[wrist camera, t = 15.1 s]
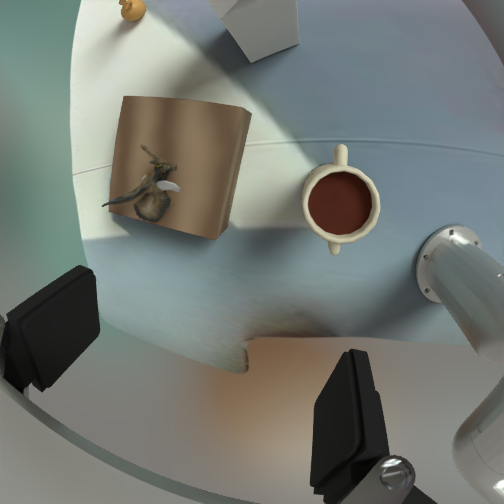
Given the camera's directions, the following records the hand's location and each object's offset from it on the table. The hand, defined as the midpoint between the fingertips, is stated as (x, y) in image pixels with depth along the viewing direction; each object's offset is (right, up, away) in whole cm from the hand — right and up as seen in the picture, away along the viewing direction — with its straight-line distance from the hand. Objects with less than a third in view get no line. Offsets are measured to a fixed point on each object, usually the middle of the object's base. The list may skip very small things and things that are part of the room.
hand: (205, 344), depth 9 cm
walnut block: (-8, +16, +28) cm, 33 cm away
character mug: (+12, +12, +27) cm, 31 cm away
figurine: (-15, +41, +21) cm, 48 cm away
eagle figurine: (-10, +11, +24) cm, 29 cm away
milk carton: (+3, +32, +20) cm, 38 cm away
